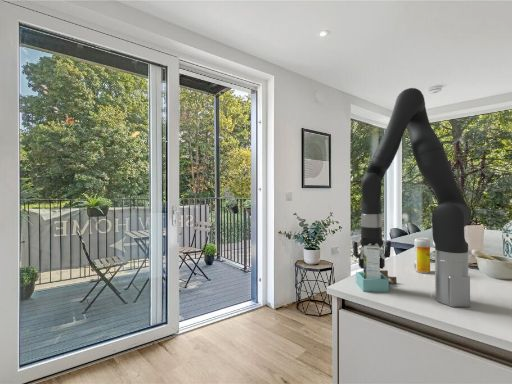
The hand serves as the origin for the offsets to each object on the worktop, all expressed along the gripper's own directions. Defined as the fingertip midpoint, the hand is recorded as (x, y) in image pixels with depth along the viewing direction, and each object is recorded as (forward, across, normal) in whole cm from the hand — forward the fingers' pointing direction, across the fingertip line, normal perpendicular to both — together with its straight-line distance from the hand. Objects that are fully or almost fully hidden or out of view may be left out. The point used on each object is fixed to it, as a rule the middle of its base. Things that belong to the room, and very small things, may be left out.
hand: (371, 268), depth 111 cm
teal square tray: (+7, 0, 0) cm, 7 cm away
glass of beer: (+8, +28, +20) cm, 35 cm away
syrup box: (+6, 0, 0) cm, 6 cm away
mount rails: (+7, +8, +7) cm, 13 cm away
